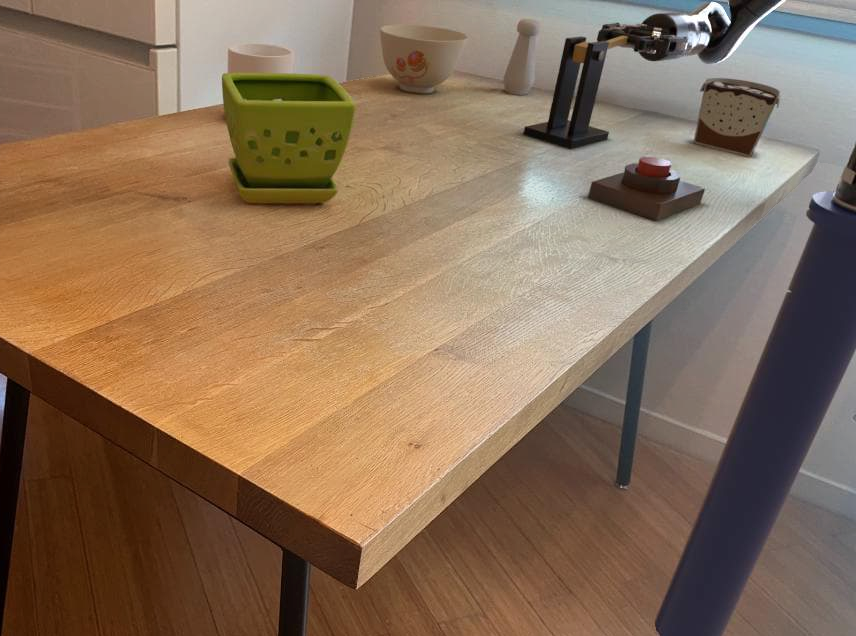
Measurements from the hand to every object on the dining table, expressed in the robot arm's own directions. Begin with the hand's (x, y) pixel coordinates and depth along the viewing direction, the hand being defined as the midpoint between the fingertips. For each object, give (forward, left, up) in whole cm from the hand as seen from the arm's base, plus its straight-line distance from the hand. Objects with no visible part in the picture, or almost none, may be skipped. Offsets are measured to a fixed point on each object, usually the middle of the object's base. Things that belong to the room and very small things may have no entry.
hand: (618, 40), depth 139 cm
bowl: (+34, -11, -14) cm, 38 cm away
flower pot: (+37, +57, -14) cm, 69 cm away
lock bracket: (+5, +8, -14) cm, 17 cm away
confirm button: (-7, +36, -11) cm, 38 cm away
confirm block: (-7, +36, -14) cm, 40 cm away
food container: (-21, -2, -14) cm, 26 cm away
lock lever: (+2, +3, -2) cm, 4 cm away
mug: (+51, +25, -14) cm, 58 cm away
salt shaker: (+16, -21, -14) cm, 30 cm away
